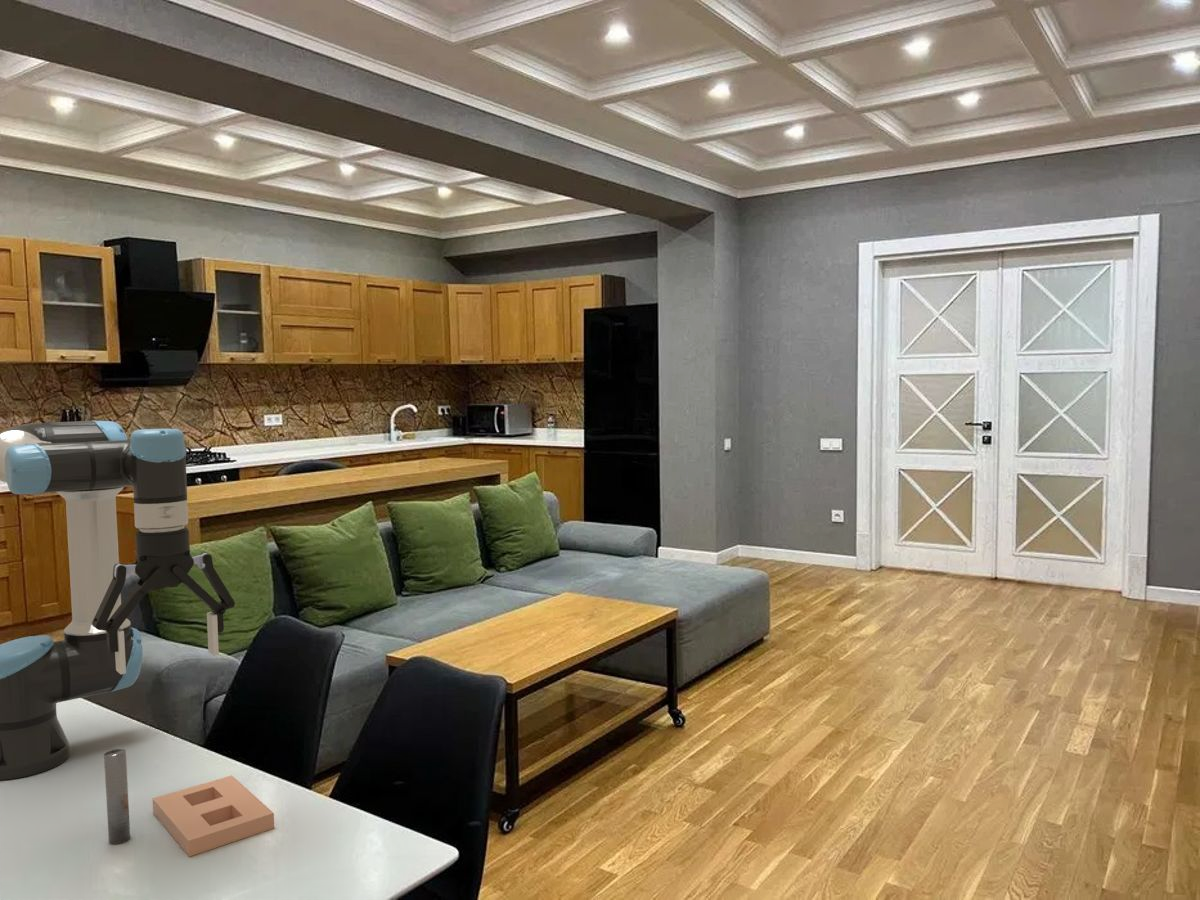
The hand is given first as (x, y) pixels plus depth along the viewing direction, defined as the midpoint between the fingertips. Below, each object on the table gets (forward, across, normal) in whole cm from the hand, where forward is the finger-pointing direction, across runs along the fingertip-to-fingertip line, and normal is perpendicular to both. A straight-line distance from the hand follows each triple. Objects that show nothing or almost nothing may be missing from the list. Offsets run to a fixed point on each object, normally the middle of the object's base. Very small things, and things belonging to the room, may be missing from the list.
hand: (168, 662), depth 141 cm
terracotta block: (+28, +6, +1) cm, 28 cm away
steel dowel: (+28, -7, +4) cm, 29 cm away
